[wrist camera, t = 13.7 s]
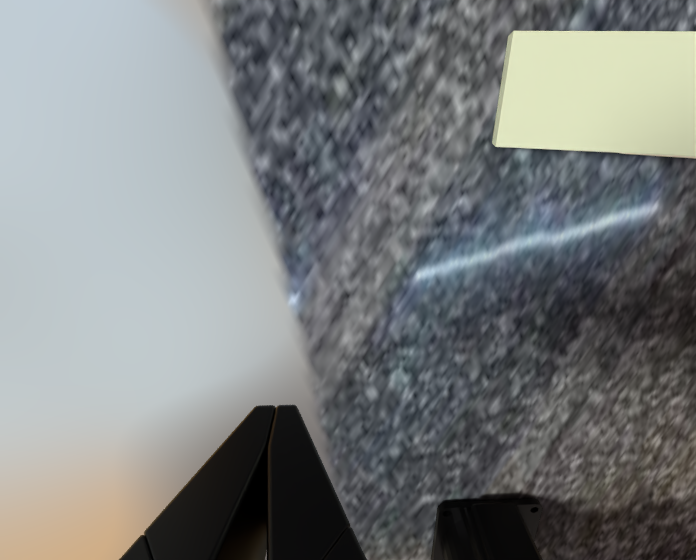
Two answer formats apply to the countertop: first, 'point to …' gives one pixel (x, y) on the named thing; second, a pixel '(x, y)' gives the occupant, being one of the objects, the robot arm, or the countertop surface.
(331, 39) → the countertop surface
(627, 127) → the domino
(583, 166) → the countertop surface
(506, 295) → the countertop surface
